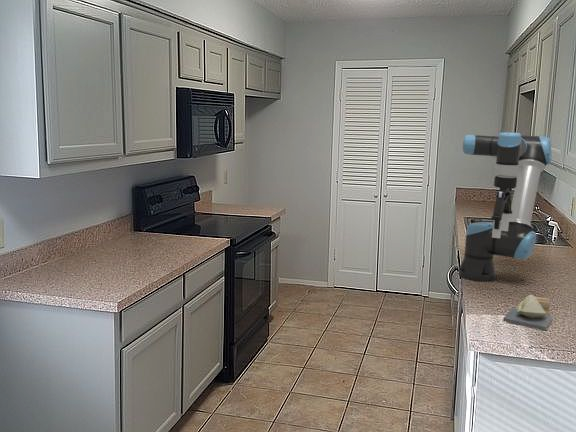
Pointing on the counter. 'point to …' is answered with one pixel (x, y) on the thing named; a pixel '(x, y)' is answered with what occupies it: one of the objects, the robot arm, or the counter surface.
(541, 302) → the oak block
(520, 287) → the counter surface
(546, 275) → the counter surface
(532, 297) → the seashell
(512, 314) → the plate
